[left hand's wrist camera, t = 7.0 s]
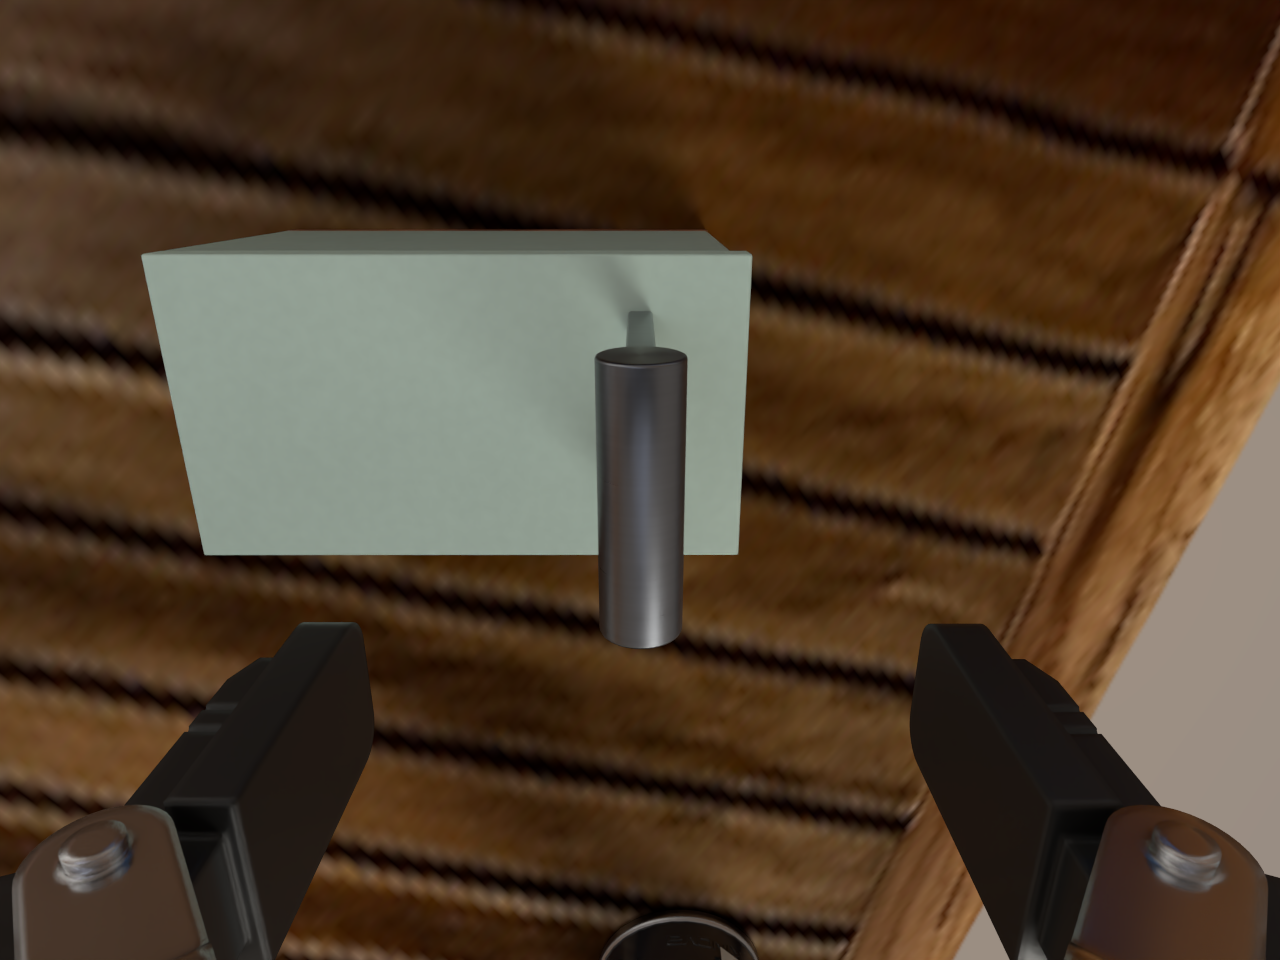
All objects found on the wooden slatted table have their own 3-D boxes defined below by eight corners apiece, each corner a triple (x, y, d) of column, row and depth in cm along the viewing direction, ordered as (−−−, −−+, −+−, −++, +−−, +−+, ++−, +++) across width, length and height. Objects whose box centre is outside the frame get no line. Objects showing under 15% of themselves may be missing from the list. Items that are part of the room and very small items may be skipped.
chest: (705, 229, 33) (731, 250, 24) (699, 448, 36) (720, 541, 27) (294, 229, 33) (160, 250, 24) (326, 448, 36) (219, 541, 27)
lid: (748, 250, 24) (806, 291, 15) (734, 541, 27) (776, 703, 19) (159, 250, 24) (-96, 291, 15) (219, 542, 27) (34, 703, 19)
